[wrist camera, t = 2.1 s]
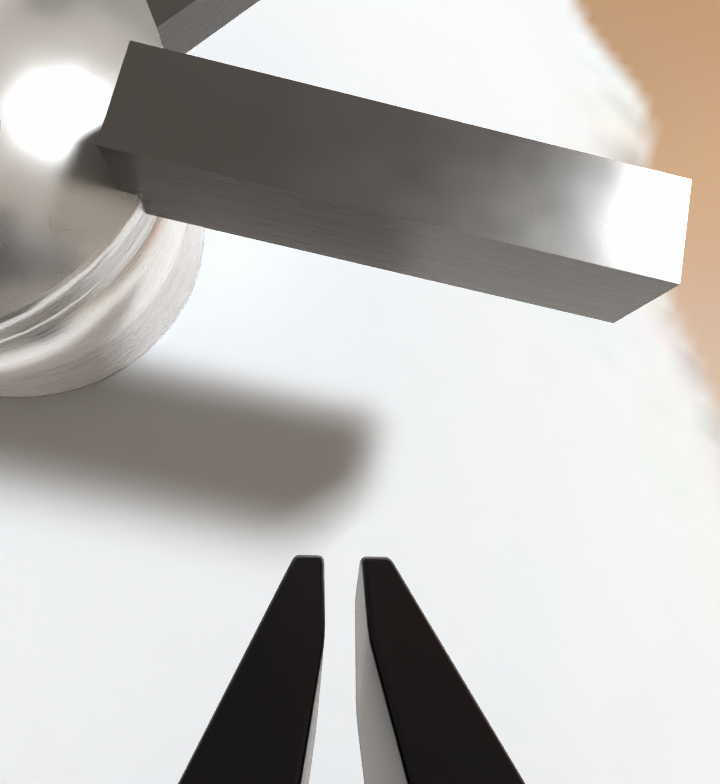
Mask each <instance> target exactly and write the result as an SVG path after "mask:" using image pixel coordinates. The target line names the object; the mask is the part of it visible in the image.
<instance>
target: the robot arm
mask: <svg viewBox="0 0 720 784" xmlns="http://www.w3.org/2000/svg"><path fill="white" fill-rule="evenodd" d="M324 636H325V593H324V559H323V557H321V556H319V555H297V556H295V557H294V558H293V560H292V562H291V563H290V565H289V567H288V569H287V571H286V573H285V575H284V577H283V579H282V581H281V583H280V585H279V587H278V589H277V591H276V593H275V595H274V597H273V599H272V601H271V603H270V605H269V607H268V609H267V610H266V612H265V614H264V616H263V618H262V620H261V622H260V624H259V626H258V628H257V630H256V632H255V634H254V636H253V638H252V640H251V642H250V644H249V646H248V648H247V650H246V652H245V654H244V656H243V658H242V659H241V661H240V663H239V665H238V667H237V669H236V671H235V673H234V675H233V677H232V679H231V681H230V683H229V685H228V687H227V689H226V691H225V693H224V695H223V697H222V699H221V701H220V703H219V705H218V707H217V708H216V710H215V712H214V714H213V716H212V718H211V720H210V722H209V724H208V726H207V728H206V730H205V732H204V734H203V736H202V738H201V740H200V742H199V744H198V746H197V748H196V750H195V752H194V754H193V756H192V758H191V759H190V761H189V763H188V765H187V767H186V769H185V771H184V773H183V775H182V777H181V779H180V781H179V783H178V784H309V777H310V769H311V762H312V755H313V748H314V741H315V733H316V724H317V715H318V704H319V692H320V681H321V670H322V659H323V648H324ZM355 651H356V713H357V725H358V735H359V743H360V751H361V759H362V767H363V775H364V784H525V782H524V781H523V779H522V777H521V776H520V774H519V772H518V771H517V769H516V767H515V766H514V764H513V762H512V761H511V759H510V757H509V756H508V754H507V752H506V751H505V749H504V747H503V746H502V744H501V742H500V741H499V739H498V737H497V736H496V734H495V732H494V731H493V729H492V727H491V726H490V724H489V722H488V721H487V719H486V717H485V716H484V714H483V712H482V711H481V709H480V707H479V706H478V704H477V702H476V701H475V699H474V697H473V696H472V694H471V692H470V690H469V689H468V687H467V685H466V684H465V682H464V680H463V679H462V677H461V675H460V674H459V672H458V670H457V669H456V667H455V665H454V664H453V662H452V660H451V659H450V657H449V655H448V654H447V652H446V650H445V649H444V647H443V645H442V644H441V642H440V640H439V639H438V637H437V635H436V634H435V632H434V630H433V629H432V627H431V625H430V624H429V622H428V620H427V619H426V617H425V615H424V614H423V612H422V610H421V609H420V607H419V605H418V604H417V602H416V600H415V599H414V597H413V595H412V594H411V592H410V590H409V589H408V587H407V585H406V584H405V582H404V580H403V579H402V577H401V575H400V573H399V572H398V570H397V568H396V567H395V565H394V564H393V562H392V561H391V560H390V559H389V558H387V557H363V558H362V559H361V561H360V566H359V573H358V581H357V589H356V598H355Z"/></svg>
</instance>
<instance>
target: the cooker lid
mask: <svg viewBox="0 0 720 784" xmlns="http://www.w3.org/2000/svg"><path fill="white" fill-rule="evenodd" d="M690 189H691V179H687V178H683V177H679V176H675V175H671V174H667V173H663V172H659V171H655V170H651V169H647V168H643V167H639V166H635V165H631V164H627V163H623V162H619V161H615V160H611V159H607V158H603V157H599V156H595V155H591V154H587V153H583V152H579V151H575V150H571V149H567V148H562V147H558V146H554V145H550V144H546V143H542V142H538V141H534V140H530V139H526V138H522V137H518V136H514V135H510V134H506V133H502V132H498V131H494V130H490V129H486V128H482V127H478V126H474V125H470V124H466V123H462V122H458V121H454V120H450V119H446V118H442V117H438V116H434V115H429V114H425V113H421V112H417V111H413V110H409V109H405V108H401V107H397V106H393V105H389V104H385V103H381V102H377V101H373V100H369V99H365V98H361V97H357V96H353V95H349V94H345V93H341V92H337V91H333V90H329V89H325V88H321V87H317V86H313V85H309V84H305V83H301V82H297V81H292V80H288V79H284V78H280V77H276V76H272V75H268V74H264V73H260V72H256V71H252V70H248V69H244V68H240V67H236V66H232V65H228V64H224V63H220V62H216V61H212V60H208V59H204V58H200V57H196V56H192V55H188V54H184V53H180V52H176V51H172V50H168V49H164V48H163V46H162V43H161V40H160V36H159V33H158V30H157V27H156V24H155V22H154V19H153V17H152V14H151V12H150V9H149V7H148V4H147V1H146V0H0V340H1V339H4V338H7V337H10V336H13V335H15V334H17V333H19V332H21V331H23V330H25V329H27V328H29V327H32V326H34V325H36V324H38V323H40V322H42V321H44V320H46V319H47V318H49V317H50V316H52V315H54V314H55V313H57V312H58V311H60V310H62V309H63V308H65V307H66V306H68V305H70V304H71V303H73V302H74V301H75V300H77V299H78V298H79V297H80V296H82V295H83V294H84V293H85V292H86V291H88V290H89V289H90V288H91V287H93V286H94V285H95V284H96V283H97V282H99V281H100V280H101V279H102V278H103V277H104V276H105V275H106V274H107V273H108V272H109V271H110V269H111V268H112V267H113V266H114V265H115V264H116V263H117V262H118V261H119V260H120V259H121V258H122V257H123V256H124V254H125V253H126V252H127V250H128V249H129V248H130V246H131V245H132V243H133V242H134V241H135V239H136V238H137V237H138V235H139V234H140V232H141V231H142V230H143V228H144V226H145V224H146V222H147V220H148V218H149V217H150V215H153V216H157V217H162V218H166V219H170V220H175V221H179V222H183V223H187V224H192V225H196V226H200V227H205V228H209V229H213V230H217V231H222V232H226V233H230V234H235V235H239V236H243V237H247V238H252V239H256V240H260V241H265V242H269V243H273V244H277V245H282V246H286V247H290V248H295V249H299V250H303V251H307V252H312V253H316V254H320V255H325V256H329V257H333V258H337V259H342V260H346V261H350V262H355V263H359V264H363V265H367V266H372V267H376V268H380V269H385V270H389V271H393V272H397V273H402V274H406V275H410V276H415V277H419V278H423V279H427V280H432V281H436V282H440V283H445V284H449V285H453V286H457V287H462V288H466V289H470V290H474V291H479V292H483V293H487V294H492V295H496V296H500V297H504V298H509V299H513V300H517V301H522V302H526V303H530V304H534V305H539V306H543V307H547V308H552V309H556V310H560V311H564V312H569V313H573V314H577V315H582V316H586V317H590V318H594V319H599V320H603V321H607V322H612V323H614V322H616V321H618V320H619V319H621V318H623V317H624V316H626V315H628V314H630V313H631V312H633V311H635V310H636V309H638V308H640V307H642V306H643V305H645V304H647V303H648V302H650V301H652V300H654V299H655V298H657V297H659V296H661V295H662V294H664V293H666V292H667V291H669V290H671V289H672V288H674V287H676V286H678V285H679V284H680V279H681V270H682V261H683V252H684V243H685V234H686V225H687V216H688V207H689V197H690Z"/></svg>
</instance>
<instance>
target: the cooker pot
mask: <svg viewBox="0 0 720 784" xmlns="http://www.w3.org/2000/svg"><path fill="white" fill-rule="evenodd" d="M146 1H147V4H148V7H149V9H150V12H151V14H152V17H153V19H154V22H155V24H156V27H157V30H158V33H159V36H160V40H161V43H162V46H163V48H164V49H168V50H172V51H176V52H180V53H184V54H185V53H187V52H188V51H189V50H191V49H192V48H194V47H195V46H196V45H198V44H199V43H201V42H202V41H203V40H205V39H206V38H208V37H209V36H210V35H212V34H213V33H215V32H216V31H217V30H219V29H220V28H222V27H223V26H224V25H226V24H227V23H228V22H230V21H231V20H233V19H234V18H235V17H237V16H238V15H240V14H241V13H242V12H244V11H245V10H247V9H248V8H249V7H251V6H252V5H254V4H255V3H256V2H258V1H259V0H146ZM203 246H204V227H200V226H196V225H192V224H187V223H183V222H179V221H175V220H170V219H166V218H162V217H157V216H153V215H150V217H149V218H148V220H147V222H146V224H145V226H144V228H143V230H142V231H141V232H140V234H139V235H138V237H137V238H136V239H135V241H134V242H133V243H132V245H131V246H130V248H129V249H128V250H127V252H126V253H125V254H124V256H123V257H122V258H121V259H120V260H119V261H118V262H117V263H116V264H115V265H114V266H113V267H112V268H111V269H110V271H109V272H108V273H107V274H106V275H105V276H104V277H103V278H102V279H101V280H100V281H99V282H97V283H96V284H95V285H94V286H93V287H91V288H90V289H89V290H88V291H86V292H85V293H84V294H83V295H82V296H80V297H79V298H78V299H77V300H75V301H74V302H73V303H71V304H70V305H68V306H66V307H65V308H63V309H62V310H60V311H58V312H57V313H55V314H54V315H52V316H50V317H49V318H47V319H46V320H44V321H42V322H40V323H38V324H36V325H34V326H32V327H29V328H27V329H25V330H23V331H21V332H19V333H17V334H15V335H13V336H10V337H7V338H4V339H1V340H0V396H8V397H36V396H43V395H51V394H58V393H63V392H66V391H70V390H74V389H78V388H81V387H84V386H87V385H89V384H92V383H94V382H97V381H99V380H102V379H104V378H106V377H108V376H110V375H112V374H114V373H115V372H117V371H119V370H121V369H123V368H125V367H126V366H128V365H129V364H130V363H132V362H133V361H134V360H136V359H137V358H139V357H140V356H141V355H143V354H144V353H145V352H146V351H147V350H148V349H150V348H151V347H152V346H153V345H154V344H155V343H156V342H157V341H158V340H159V339H160V338H161V337H162V336H163V335H164V333H165V332H166V331H167V330H168V329H169V327H170V326H171V325H172V324H173V323H174V321H175V320H176V318H177V317H178V315H179V313H180V312H181V310H182V309H183V307H184V306H185V304H186V302H187V300H188V298H189V296H190V293H191V291H192V289H193V287H194V285H195V282H196V278H197V275H198V272H199V268H200V265H201V259H202V253H203Z"/></svg>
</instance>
